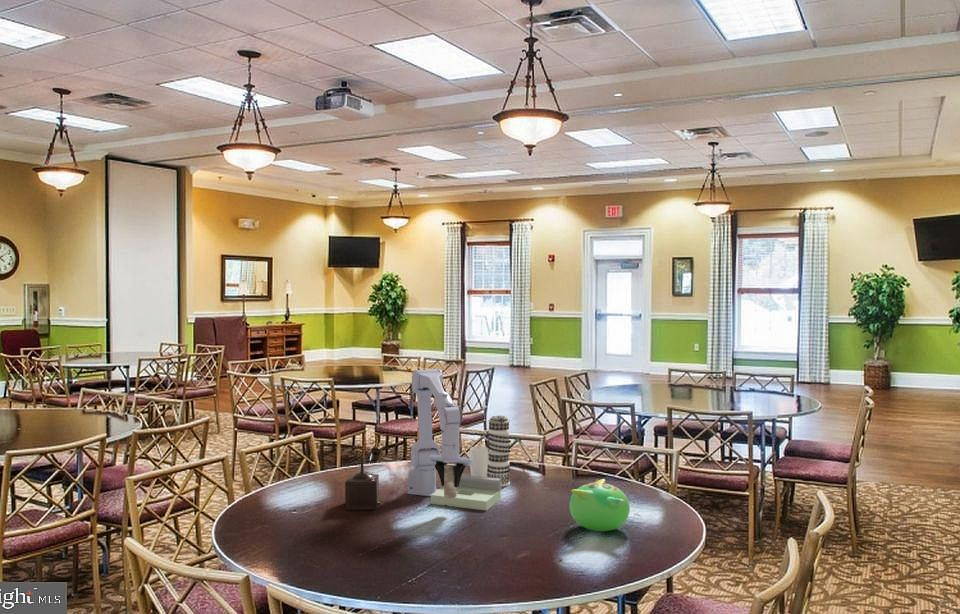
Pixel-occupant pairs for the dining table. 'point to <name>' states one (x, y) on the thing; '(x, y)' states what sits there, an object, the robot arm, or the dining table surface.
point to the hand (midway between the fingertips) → (450, 485)
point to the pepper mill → (363, 487)
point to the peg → (449, 481)
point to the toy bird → (599, 506)
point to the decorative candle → (499, 449)
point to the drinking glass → (479, 461)
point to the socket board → (471, 493)
